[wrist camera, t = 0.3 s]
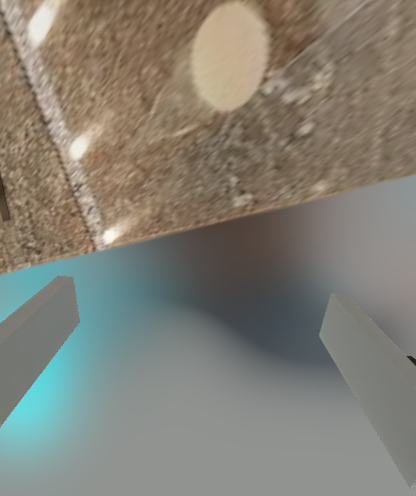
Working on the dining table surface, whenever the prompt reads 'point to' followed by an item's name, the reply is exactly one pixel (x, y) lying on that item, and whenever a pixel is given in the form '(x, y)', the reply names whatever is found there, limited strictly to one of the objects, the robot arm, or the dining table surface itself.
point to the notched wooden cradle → (3, 205)
